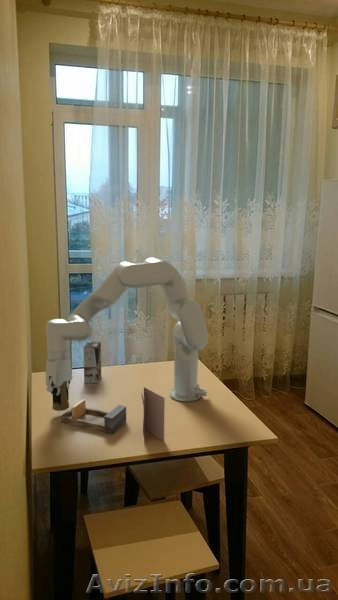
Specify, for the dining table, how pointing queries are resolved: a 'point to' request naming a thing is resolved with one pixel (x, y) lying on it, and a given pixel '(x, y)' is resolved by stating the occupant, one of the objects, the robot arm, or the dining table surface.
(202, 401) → the dining table surface
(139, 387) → the dining table surface
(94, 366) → the coffee box
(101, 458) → the dining table surface
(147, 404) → the greeting card
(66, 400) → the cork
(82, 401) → the pusher
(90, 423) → the lane
